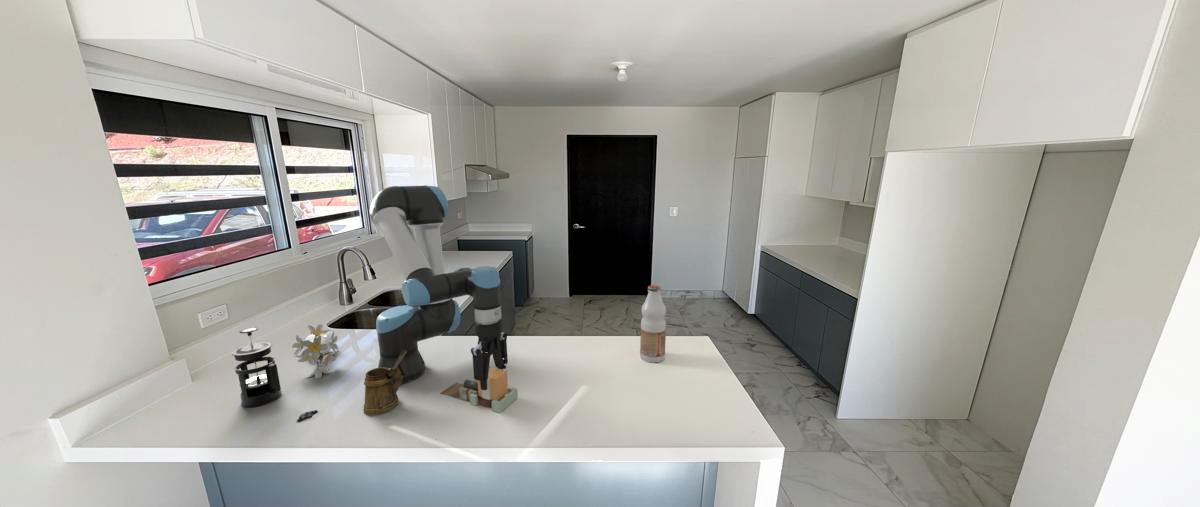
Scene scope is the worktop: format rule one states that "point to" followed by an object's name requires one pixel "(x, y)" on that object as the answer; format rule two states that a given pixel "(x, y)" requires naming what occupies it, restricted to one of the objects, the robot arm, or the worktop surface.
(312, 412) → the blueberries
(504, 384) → the plug
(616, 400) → the worktop surface
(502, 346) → the robot arm
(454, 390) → the board
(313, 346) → the flower vase
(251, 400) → the french press
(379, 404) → the wooden mug
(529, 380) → the worktop surface
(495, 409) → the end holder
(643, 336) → the fruit juice
